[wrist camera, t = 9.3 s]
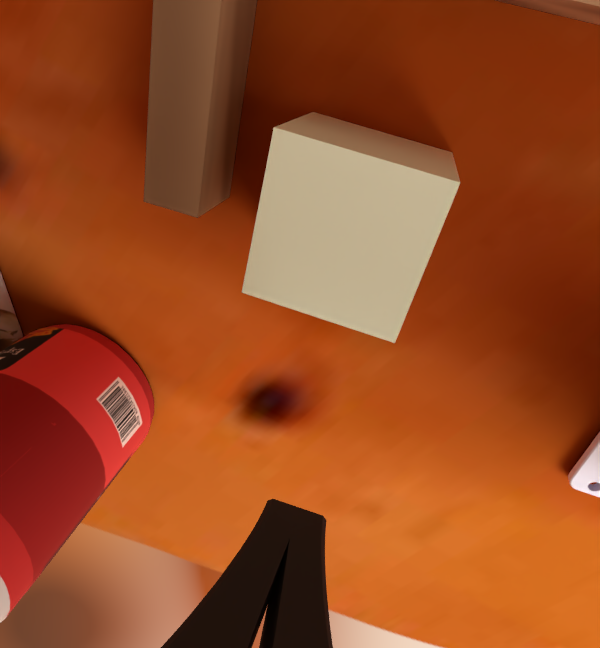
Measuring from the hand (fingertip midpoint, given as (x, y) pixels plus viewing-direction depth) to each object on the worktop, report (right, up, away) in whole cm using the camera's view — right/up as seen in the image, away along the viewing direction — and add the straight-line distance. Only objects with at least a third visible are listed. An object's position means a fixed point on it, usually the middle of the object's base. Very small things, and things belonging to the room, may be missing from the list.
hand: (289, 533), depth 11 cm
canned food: (-11, +2, +14) cm, 18 cm away
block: (+3, +10, +6) cm, 12 cm away
